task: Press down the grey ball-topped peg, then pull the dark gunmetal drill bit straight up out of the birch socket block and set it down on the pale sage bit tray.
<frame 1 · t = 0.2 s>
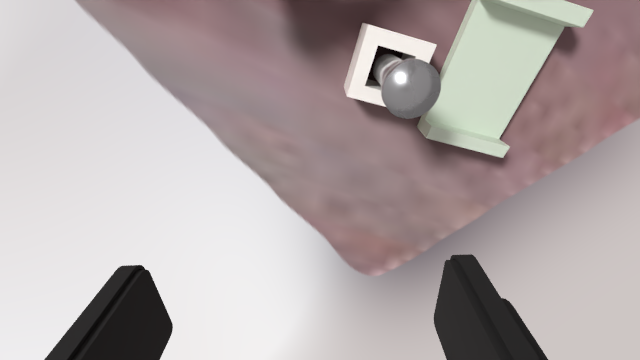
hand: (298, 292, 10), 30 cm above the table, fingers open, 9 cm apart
grey ball-topped peg: (397, 78, 27), point 8 cm above the table, slide at 0.0 cm
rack: (483, 73, 35), on the table
pin housing: (381, 64, 35), on the table
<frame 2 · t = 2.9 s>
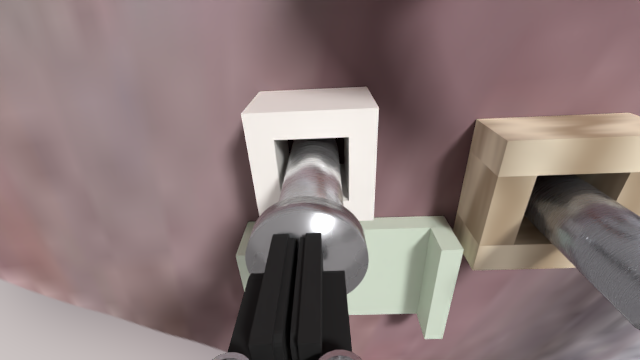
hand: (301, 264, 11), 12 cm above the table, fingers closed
grey ball-topped peg: (312, 190, 15), point 7 cm above the table, slide at 1.5 cm, touching gripper
drill bit: (585, 225, 18), in the socket
socket: (530, 180, 23), on the table
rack: (345, 263, 27), on the table
pin housing: (315, 139, 21), on the table
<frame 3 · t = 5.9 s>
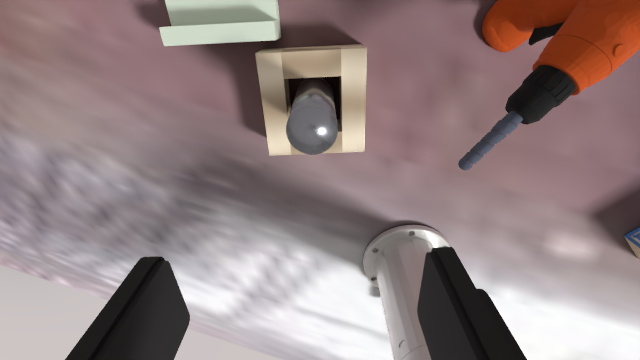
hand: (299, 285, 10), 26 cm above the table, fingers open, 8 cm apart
drill bit: (313, 110, 28), in the socket
socket: (314, 96, 33), on the table
toy drill: (479, 48, 31), on the table
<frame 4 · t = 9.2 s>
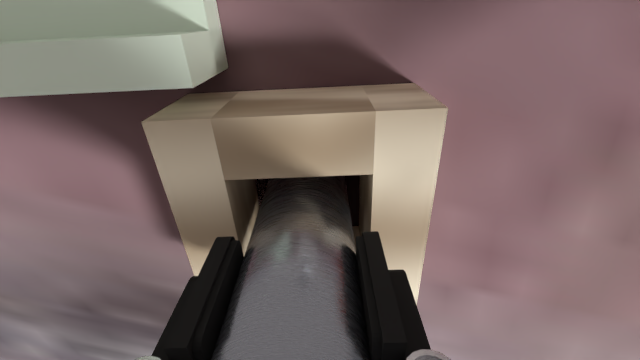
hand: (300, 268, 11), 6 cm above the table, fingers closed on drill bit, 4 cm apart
drill bit: (301, 262, 11), in the socket, touching gripper
socket: (307, 186, 16), on the table
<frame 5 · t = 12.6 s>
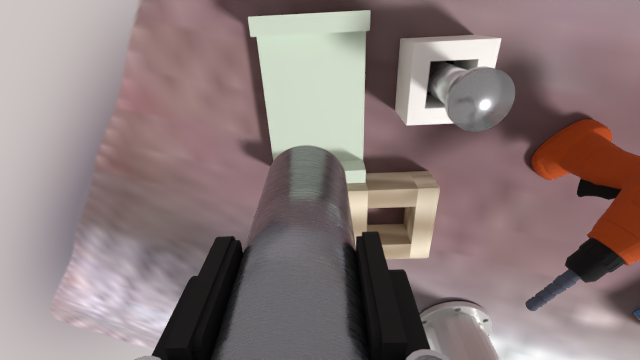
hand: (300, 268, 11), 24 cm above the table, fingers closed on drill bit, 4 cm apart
grey ball-topped peg: (454, 86, 25), point 6 cm above the table, slide at 2.7 cm
drill bit: (300, 259, 11), point 24 cm above the table, touching gripper
socket: (383, 207, 38), on the table
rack: (315, 100, 32), on the table
pin housing: (432, 74, 30), on the table
toy drill: (527, 173, 36), on the table
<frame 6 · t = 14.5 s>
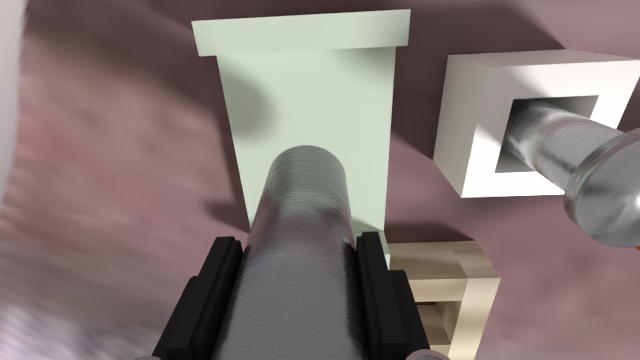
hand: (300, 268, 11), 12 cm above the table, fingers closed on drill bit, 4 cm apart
grey ball-topped peg: (554, 142, 15), point 6 cm above the table, slide at 2.7 cm
drill bit: (300, 259, 11), point 12 cm above the table, touching gripper
socket: (409, 285, 27), on the table
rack: (312, 146, 21), on the table
pin housing: (493, 109, 20), on the table
when the fingers open (8 cm above the table, at t = 16.1 s): drill bit stays where it is, resting on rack.
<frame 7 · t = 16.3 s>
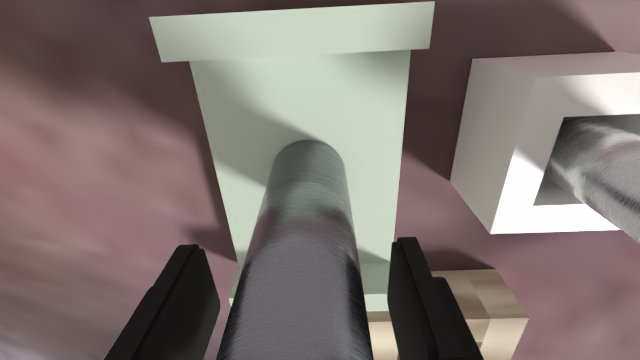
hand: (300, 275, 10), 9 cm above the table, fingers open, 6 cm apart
grey ball-topped peg: (614, 172, 11), point 6 cm above the table, slide at 2.7 cm
drill bit: (304, 244, 12), point 7 cm above the table, touching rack
socket: (418, 316, 24), on the table
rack: (309, 165, 18), on the table
pin housing: (524, 123, 17), on the table
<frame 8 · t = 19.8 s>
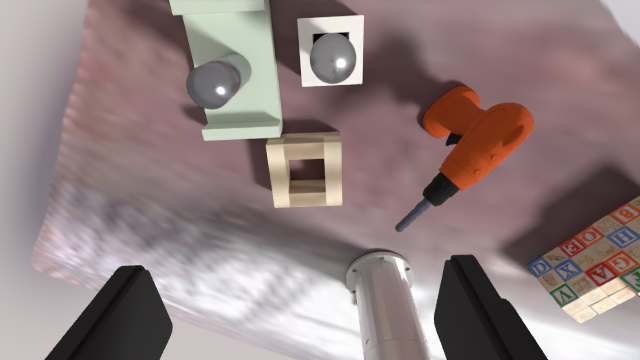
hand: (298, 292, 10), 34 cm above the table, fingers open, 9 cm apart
grey ball-topped peg: (331, 53, 33), point 6 cm above the table, slide at 2.7 cm
drill bit: (223, 77, 33), point 7 cm above the table, touching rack
socket: (307, 164, 46), on the table
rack: (238, 69, 39), on the table
pin housing: (330, 48, 38), on the table
stack of blocks: (589, 238, 53), on the table
toy drill: (422, 133, 43), on the table
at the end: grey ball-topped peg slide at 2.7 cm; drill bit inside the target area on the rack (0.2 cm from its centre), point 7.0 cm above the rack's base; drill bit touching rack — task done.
